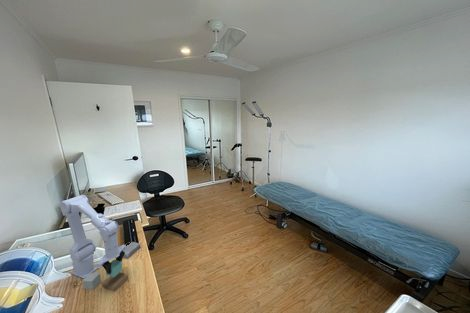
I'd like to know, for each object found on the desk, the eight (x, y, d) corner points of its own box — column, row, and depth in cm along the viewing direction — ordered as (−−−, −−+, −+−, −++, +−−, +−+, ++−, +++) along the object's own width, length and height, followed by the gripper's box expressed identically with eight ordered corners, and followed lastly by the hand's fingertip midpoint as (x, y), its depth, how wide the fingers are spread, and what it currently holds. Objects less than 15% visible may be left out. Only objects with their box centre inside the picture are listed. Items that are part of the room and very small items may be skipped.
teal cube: (106, 274, 96) (105, 266, 95) (115, 267, 100) (114, 259, 99) (113, 277, 94) (112, 268, 93) (122, 270, 99) (121, 261, 98)
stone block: (115, 259, 117) (129, 259, 115) (113, 252, 116) (127, 252, 114) (129, 248, 128) (141, 247, 126) (127, 241, 128) (140, 240, 126)
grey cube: (83, 289, 95) (82, 280, 94) (91, 280, 99) (90, 272, 98) (93, 289, 94) (91, 281, 93) (100, 281, 99) (99, 273, 98)
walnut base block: (102, 287, 96) (102, 282, 95) (116, 275, 103) (116, 270, 103) (114, 292, 93) (113, 287, 93) (128, 279, 101) (127, 274, 100)
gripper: (103, 257, 86) (106, 282, 89) (129, 239, 100) (131, 261, 102) (92, 253, 88) (95, 278, 91) (119, 236, 102) (121, 258, 104)
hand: (114, 269), depth 97 cm, fingers closed on teal cube, 5 cm apart
